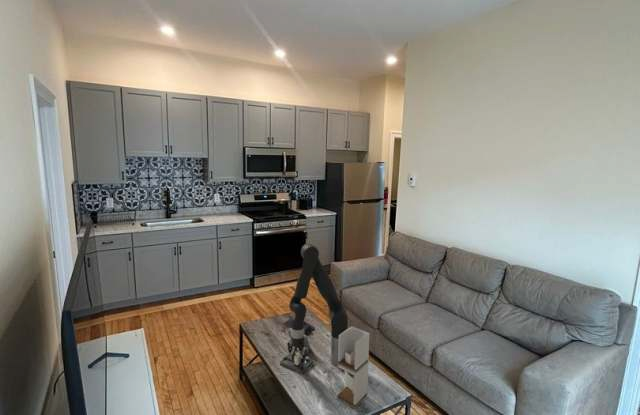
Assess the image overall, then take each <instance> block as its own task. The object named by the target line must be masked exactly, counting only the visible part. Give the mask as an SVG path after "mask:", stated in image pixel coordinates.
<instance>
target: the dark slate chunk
mask: <svg viewBox="0 0 640 415" xmlns="http://www.w3.org/2000/svg"><path fill="white" fill-rule="evenodd" d="M293 317H294V316H293ZM293 317H291V318H289V319H288V320H286V321H284V322H283V325H284V326H285V327H286V328H287V330H288V329H289V328H292V318H293ZM314 330H315V327H314V326H313V325H311V324H309V323H307V322H306V321H305V320H304V335H307V334H309V333H312V332H313V331H314Z"/></svg>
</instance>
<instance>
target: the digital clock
mask: <svg viewBox="0 0 640 415" xmlns="http://www.w3.org/2000/svg"><path fill="white" fill-rule="evenodd" d="M291 329H292V328H289V329H288V328H287V332H288V336H289V338H290V339H289V341H291ZM310 344H311V343H310V341H309V338H308V336H307V334H304V346H305V347H306V348H309V350H310V349H311V345H310ZM292 349H293V347H292Z"/></svg>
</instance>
